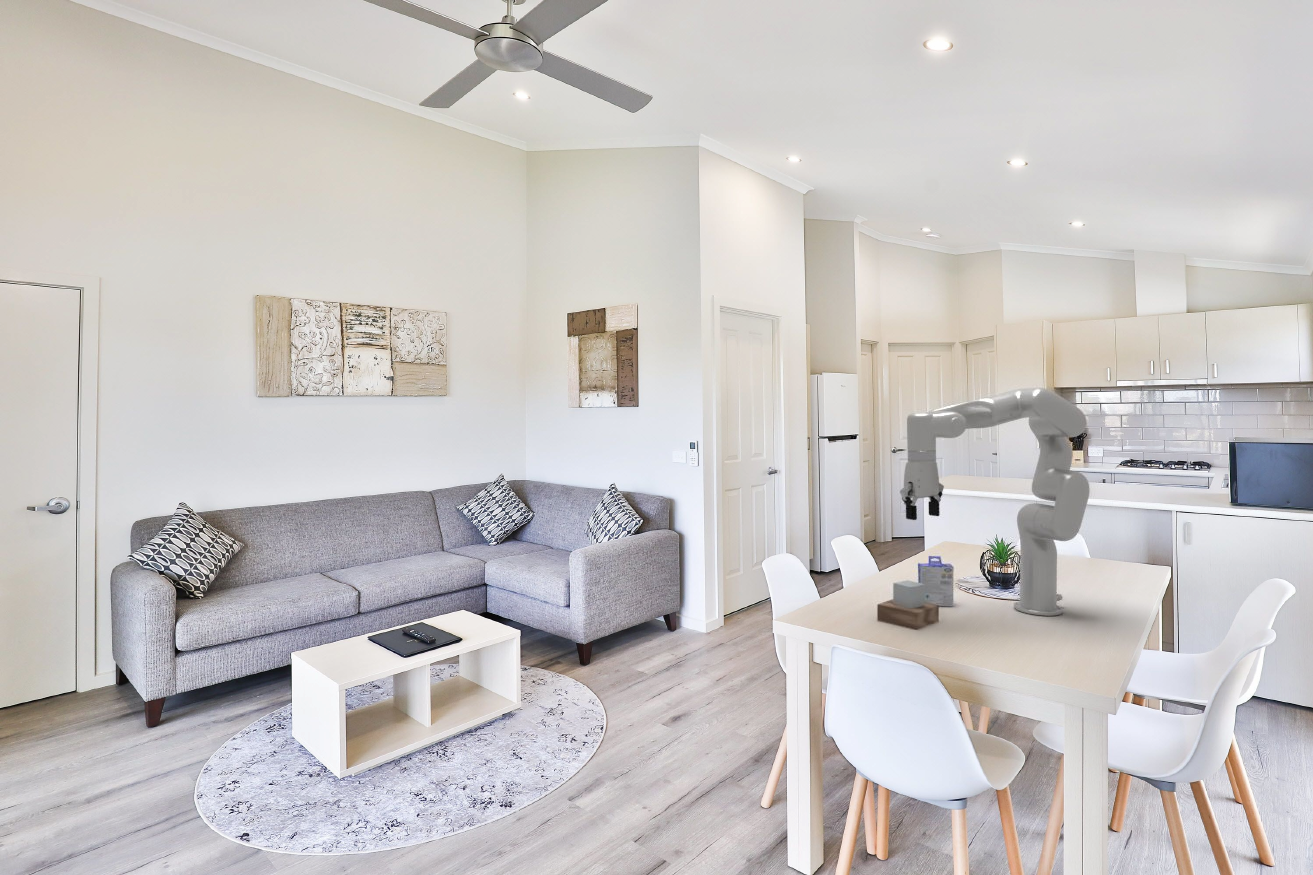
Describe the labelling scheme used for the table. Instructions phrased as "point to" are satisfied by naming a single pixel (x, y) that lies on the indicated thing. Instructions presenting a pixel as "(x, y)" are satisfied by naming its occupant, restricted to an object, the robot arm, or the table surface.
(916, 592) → the grey block
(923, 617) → the walnut block
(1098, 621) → the table surface
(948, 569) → the ink cartridge box
